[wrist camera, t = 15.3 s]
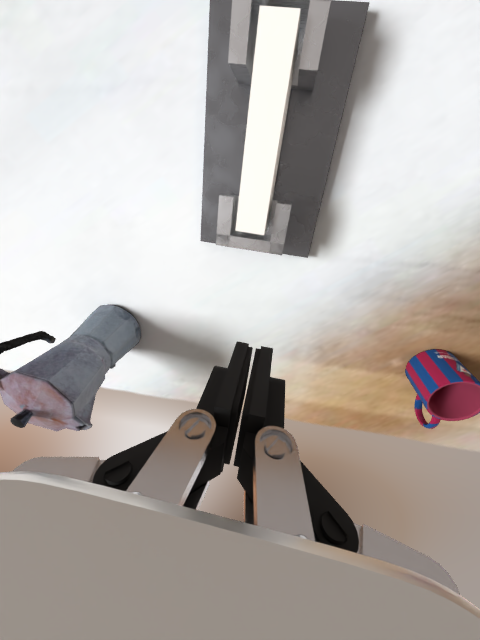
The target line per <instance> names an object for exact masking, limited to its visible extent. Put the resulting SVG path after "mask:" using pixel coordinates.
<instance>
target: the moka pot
mask: <svg viewBox="0 0 480 640" xmlns="http://www.w3.org/2000/svg"><path fill="white" fill-rule="evenodd" d="M140 337H141V330H140V326H139V324H138V323H137V321H136V319H135V318H134V317H133V316H132V315H131V314H130V313H129V312H127V311H126V310H124V309H122V308H120V307H118V306H114V305H102V306H99V307H98V308H97V309H96V310H95V311H94V312H93V313H92V314H91V315H90V316H89V317H88V318H87V319H86V320H85V321H84V322H83V323H82V324H81V326H80V327H79V328H78V329H77V330H76V331H75V332H74V333H73V334H72V335H71V336H70V337H69V338H68V339H66V340H65V341H63V342H62V343H60V344H59V345H57V346H55V347H54V348H52V349H50V350H49V351H47V352H46V353H44V354H42V355H41V356H39V357H37V358H36V359H34V360H32V361H31V362H29V363H27V364H26V365H24V366H22V367H21V368H19V369H17V370H16V371H14V372H11V373H8V372H6V371H4V370H3V369H0V393H1V396H2V399H3V401H4V404H5V405H6V406H8V407H9V408H10V409H11V410H13V411H14V412H15V413H17V415H15V416H14V417H13V418H11V422H12V424H13V425H15V426H17V427H20V428H23V427H25V426H26V424H27V423H30V424H33V425H37V426H41V427H43V428H47V429H51V430H54V431H59V430H62V429H65V428H67V429H72V430H76V431H80V430H87V429H89V428H91V427H92V424H91V423H90V418H91V413H92V408H93V404H94V400H95V395H96V392H97V391H98V389H99V387H100V386H101V384H102V383H103V381H104V379H105V374H106V373H107V371H108V370H109V368H111V369H112V368H113V367H115V363H116V362H117V361H118V360H119V359H120V358H122V357H123V356H124V355H125V354H126V353H127V352H129V351H130V350H131V349H132V348H133V347H134V346H135V345H137V344H138V343H139V341H140ZM40 339H41V340H45V341H47V342H48V343H54V341H55V338H54V337H53V336H50V335H49V334H47V333H46V332H42V331H40V332H36V333H33V334H28V335H25V336H23V337H19V338H16V339H13V340H10V341H6V342H2V343H0V354H1V353H3V352H4V351H7V350H10V349H12V348H16V347H19V346H21V345H22V344H25V343H27V342H31V341H35V340H40Z"/></svg>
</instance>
